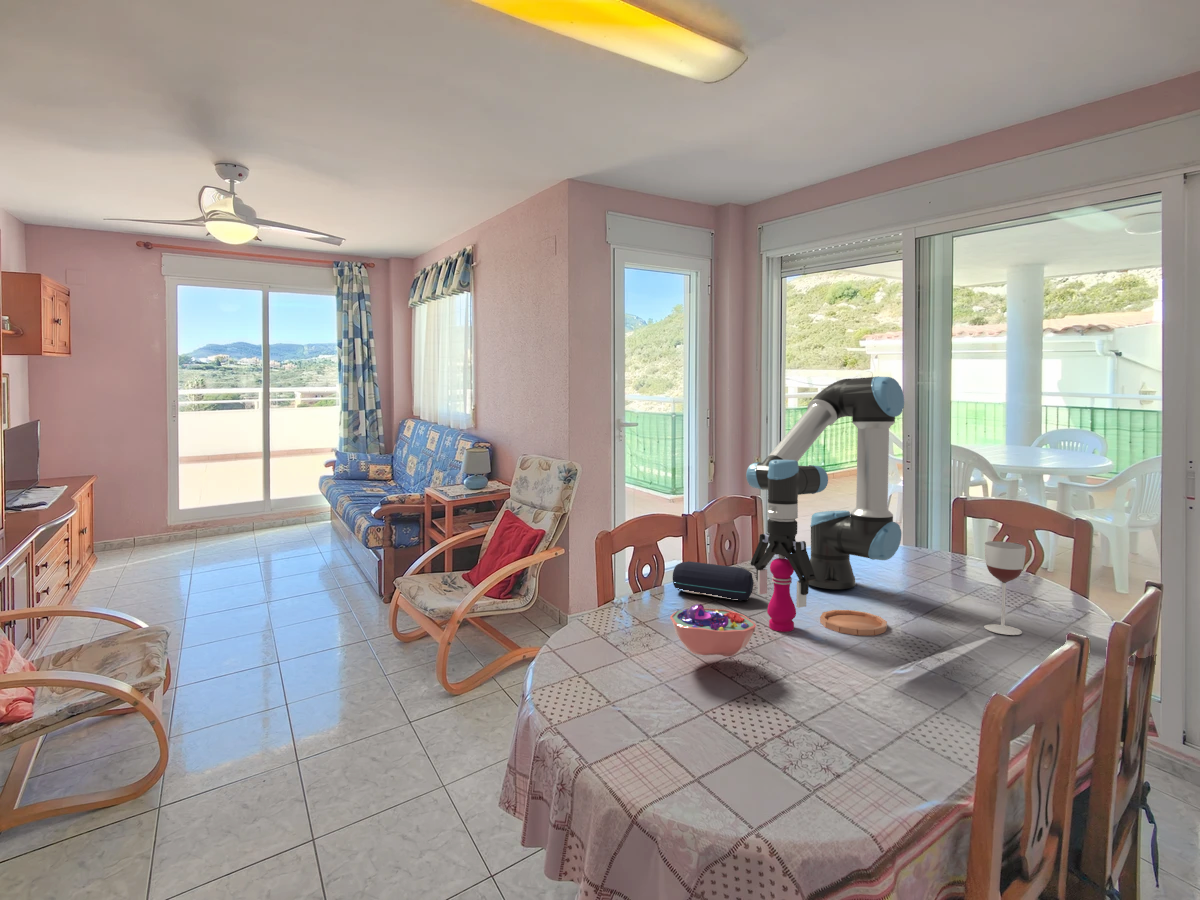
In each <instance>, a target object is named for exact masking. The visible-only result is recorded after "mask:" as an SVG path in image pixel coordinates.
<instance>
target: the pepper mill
mask: <svg viewBox="0 0 1200 900" xmlns="http://www.w3.org/2000/svg"><path fill="white" fill-rule="evenodd" d="M769 565H770V566H769V570H770V573H771V574H772V576H771V578H772V579H771V582H772V583H773V593H772V596H771V598H770V601H769V603H768V604H767V611H766V612H767V615H768V616H769V617H770V619H769V620H768V624H769V625H768V627H769V628H770V630H772V631H776V632H780V633H782V632H783V633H785V632H787V633H788V632H791V631H794V629H795V621H793V620H794V619H795V617H796V615H797V610H796V608H797V607H796V606H795V605H796V604H795V603H794V601H793V599H792V595H791V591H790V590H791V589H790V587H791V584H792V582H793V581H792V580H793V577H791V576H792V575H793V574H794V572H795V571H794V569H793V567H792V566H791V564H790V562H789V560H788V559H787V558H786V557H785V556H781V555H780V554H778V557H777V558H774V559H773V560H772V561H770V564H769Z"/></svg>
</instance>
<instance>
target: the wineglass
mask: <svg viewBox="0 0 1200 900" xmlns="http://www.w3.org/2000/svg"><path fill="white" fill-rule="evenodd" d="M1026 551H1027V547H1026V546H1025V545H1024V544H1022V543H1021V544H1020V543H1017V542H1010V541H990V540H989V541H986V542H985V543H984V555H985V556H984V557H985V558H984V559H985V565H986V567H987V568H986V569H987V570H988V572H989V574H990V575H992V576H993V577H994V578H996V579H997V580H998V581H1000V582H1001V604H1000V605H1001V606H1000V607H1001V610H1000V611H1001V613H1000V624H999V623H998V624H995V623H993V624H992V623H991V624H985V625H984V626H983V627H984V629H985V630H987V631H990V632H993V633H996V634H999V635H1000V634H1001V635H1008V636H1009V635H1010V636H1019V635H1021V634H1023V631H1022V630H1021V629H1019V628H1016V627H1013V626H1009V625H1005V624H1006V594H1007V593H1006V589H1007V583H1008V582H1010V581H1013V580H1016V579H1017V578H1019V577H1020V575H1021V574H1022V572H1023V570H1024V567H1025V562H1026V561H1025V560H1026V553H1027V552H1026Z"/></svg>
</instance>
